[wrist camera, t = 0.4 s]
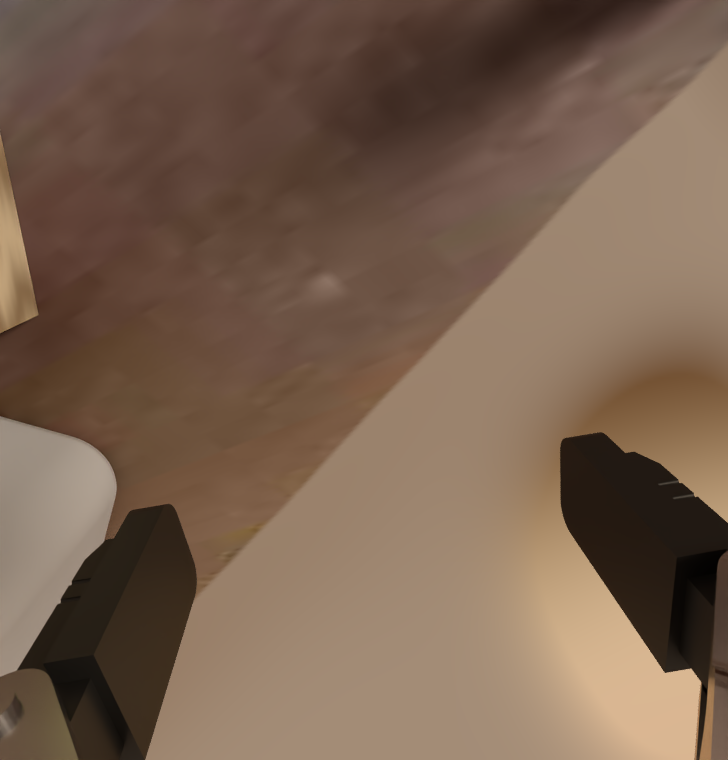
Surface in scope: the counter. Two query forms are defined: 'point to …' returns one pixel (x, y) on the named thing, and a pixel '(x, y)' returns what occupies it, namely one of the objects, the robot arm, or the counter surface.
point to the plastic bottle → (45, 526)
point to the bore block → (12, 259)
